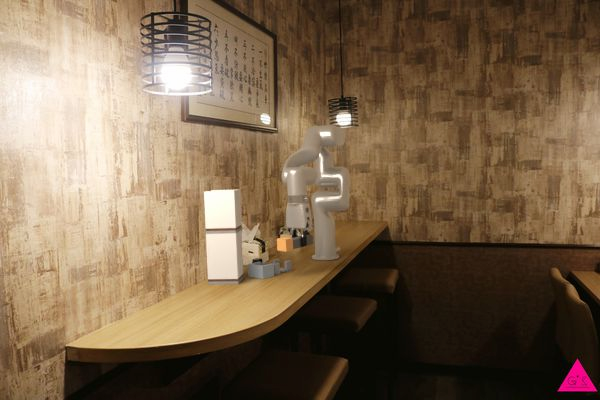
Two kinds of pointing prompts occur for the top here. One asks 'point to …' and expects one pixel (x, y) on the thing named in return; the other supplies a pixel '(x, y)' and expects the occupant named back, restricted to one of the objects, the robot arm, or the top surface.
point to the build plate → (257, 260)
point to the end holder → (260, 270)
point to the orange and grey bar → (291, 243)
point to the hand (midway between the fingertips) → (299, 245)
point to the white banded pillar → (223, 236)
